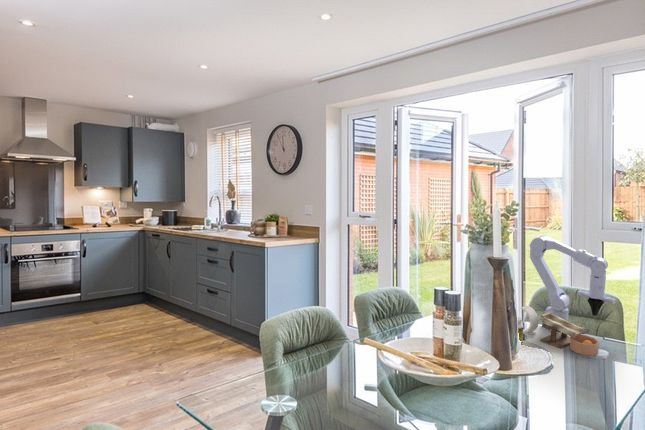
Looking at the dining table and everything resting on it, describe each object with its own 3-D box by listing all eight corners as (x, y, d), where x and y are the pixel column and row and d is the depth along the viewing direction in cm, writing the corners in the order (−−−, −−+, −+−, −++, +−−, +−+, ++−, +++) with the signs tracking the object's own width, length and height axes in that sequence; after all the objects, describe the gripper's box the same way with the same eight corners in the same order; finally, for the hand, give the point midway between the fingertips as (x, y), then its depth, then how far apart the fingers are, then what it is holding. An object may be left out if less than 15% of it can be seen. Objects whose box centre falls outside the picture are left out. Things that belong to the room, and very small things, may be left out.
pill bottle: (520, 347, 187) (521, 322, 186) (505, 343, 191) (506, 318, 189) (523, 342, 192) (525, 317, 191) (509, 338, 196) (510, 314, 194)
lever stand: (540, 341, 193) (541, 324, 192) (556, 334, 200) (557, 318, 199) (560, 348, 185) (562, 331, 184) (576, 341, 193) (577, 324, 192)
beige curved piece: (538, 326, 196) (541, 315, 195) (553, 320, 203) (555, 309, 201) (573, 343, 184) (576, 332, 182) (587, 337, 191) (590, 325, 189)
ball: (579, 340, 183) (590, 342, 180) (584, 338, 185) (594, 340, 182) (580, 349, 183) (590, 352, 180) (585, 347, 185) (595, 349, 182)
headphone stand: (526, 330, 205) (528, 305, 203) (537, 335, 199) (539, 309, 198) (519, 332, 203) (521, 307, 201) (530, 337, 197) (532, 311, 196)
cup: (565, 348, 185) (565, 338, 185) (577, 342, 191) (578, 332, 190) (590, 357, 177) (591, 346, 177) (602, 351, 183) (603, 340, 182)
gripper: (575, 283, 198) (573, 312, 200) (611, 291, 186) (608, 321, 188) (583, 280, 202) (581, 308, 204) (618, 288, 190) (616, 318, 192)
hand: (594, 315), depth 196 cm, fingers closed
